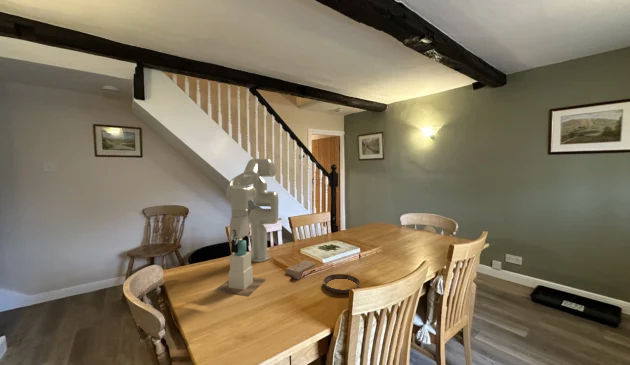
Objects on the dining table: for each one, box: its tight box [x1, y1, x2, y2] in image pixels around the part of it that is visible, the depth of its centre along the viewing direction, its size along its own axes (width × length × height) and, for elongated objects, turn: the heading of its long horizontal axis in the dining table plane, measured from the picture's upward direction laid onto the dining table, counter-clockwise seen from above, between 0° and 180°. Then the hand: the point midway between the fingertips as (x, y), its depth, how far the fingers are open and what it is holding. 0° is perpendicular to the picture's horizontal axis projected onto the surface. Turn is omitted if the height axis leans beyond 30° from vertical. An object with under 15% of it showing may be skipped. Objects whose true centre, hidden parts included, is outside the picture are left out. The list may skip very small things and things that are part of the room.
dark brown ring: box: [322, 273, 361, 294], centre depth 124 cm, size 18×18×3 cm
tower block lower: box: [228, 265, 254, 290], centre depth 122 cm, size 8×8×8 cm
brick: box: [285, 260, 316, 280], centre depth 140 cm, size 17×8×5 cm, turn 145°
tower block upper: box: [229, 251, 252, 272], centre depth 122 cm, size 7×7×7 cm
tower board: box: [213, 276, 267, 298], centre depth 123 cm, size 18×18×2 cm
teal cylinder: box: [235, 239, 247, 256], centre depth 122 cm, size 5×5×6 cm
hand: (240, 249), depth 122 cm, fingers open, 9 cm apart
